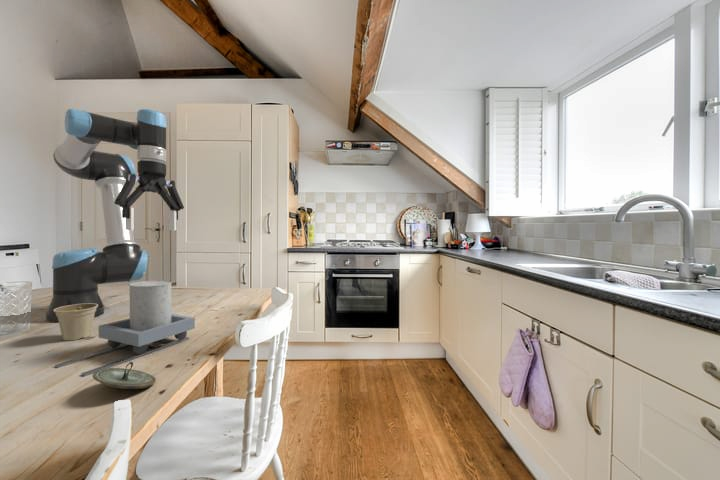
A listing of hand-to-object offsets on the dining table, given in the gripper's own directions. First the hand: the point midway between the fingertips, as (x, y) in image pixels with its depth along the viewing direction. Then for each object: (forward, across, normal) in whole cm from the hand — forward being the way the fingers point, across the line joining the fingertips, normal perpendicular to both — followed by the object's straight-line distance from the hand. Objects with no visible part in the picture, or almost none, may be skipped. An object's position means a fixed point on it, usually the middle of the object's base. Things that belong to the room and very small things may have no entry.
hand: (152, 230), depth 98 cm
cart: (+31, -11, -14) cm, 35 cm away
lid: (+31, -28, -32) cm, 53 cm away
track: (+31, -16, -14) cm, 37 cm away
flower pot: (+31, -15, +10) cm, 36 cm away
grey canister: (+27, -10, -14) cm, 32 cm away
